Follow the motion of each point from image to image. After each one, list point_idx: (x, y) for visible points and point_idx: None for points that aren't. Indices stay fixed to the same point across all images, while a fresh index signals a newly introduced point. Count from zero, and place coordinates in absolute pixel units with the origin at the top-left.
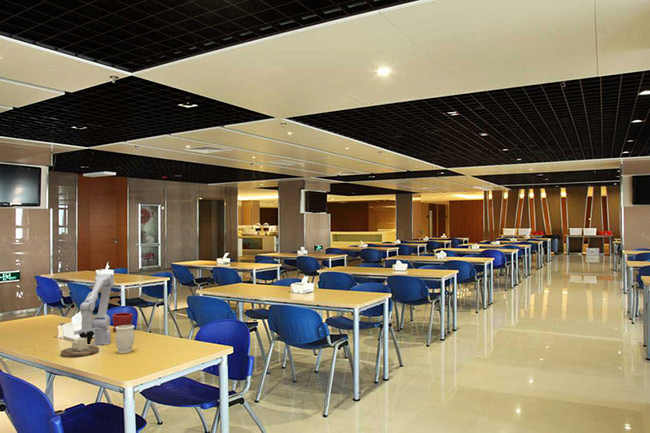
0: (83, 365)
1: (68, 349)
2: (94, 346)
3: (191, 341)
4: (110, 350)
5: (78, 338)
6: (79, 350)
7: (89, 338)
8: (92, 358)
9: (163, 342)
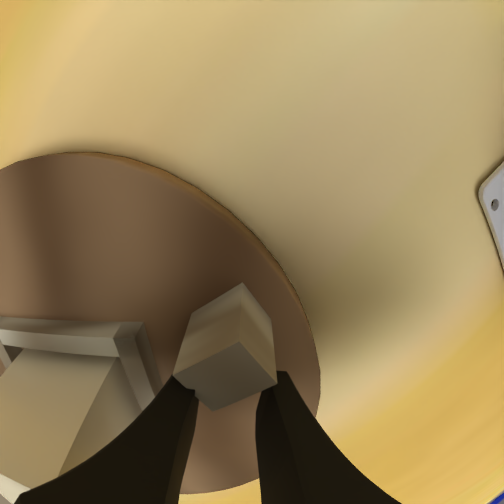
0: None
1: (5, 239)
2: None
3: (487, 500)
4: None
5: (12, 486)
6: None
7: (265, 502)
8: None
9: (494, 477)
